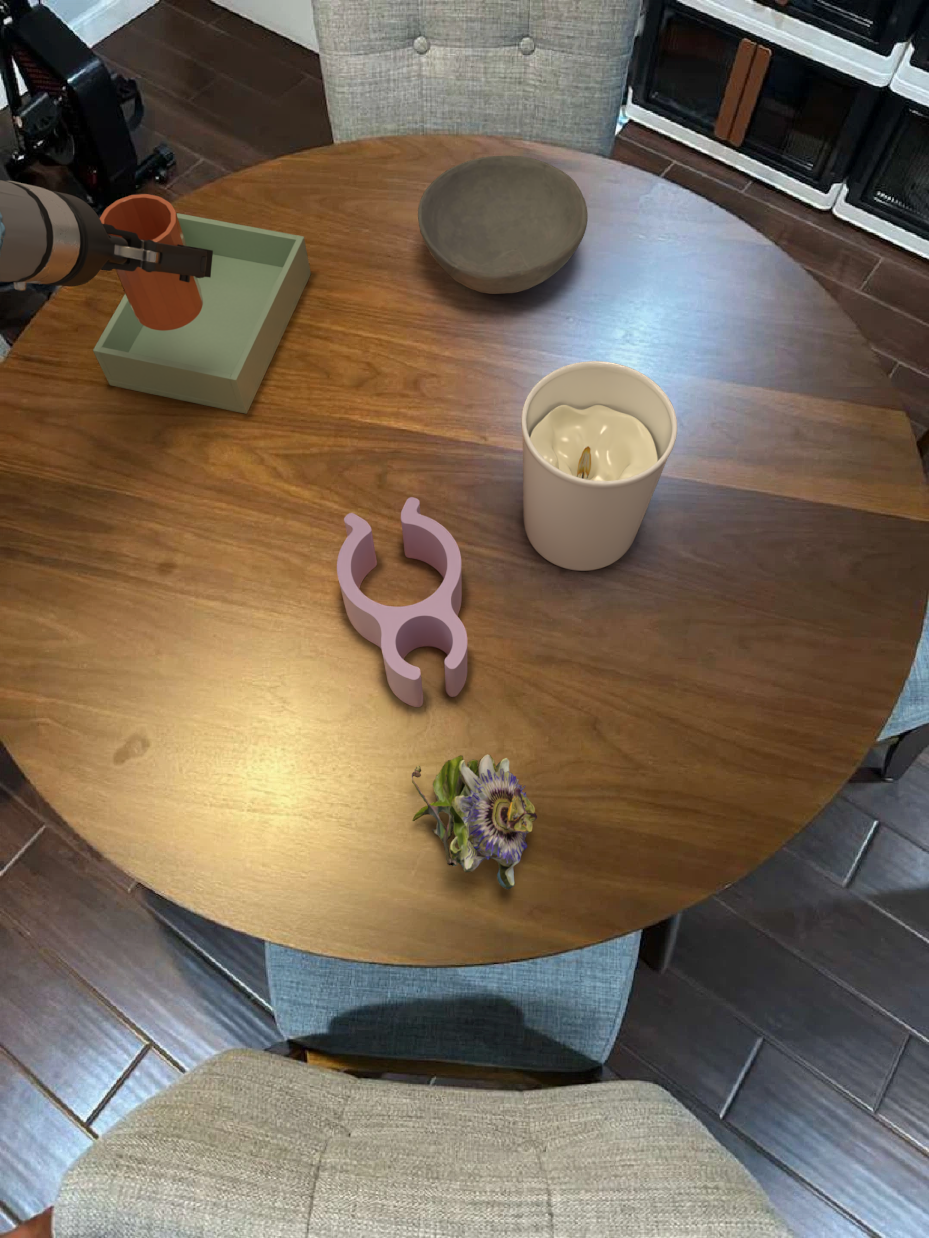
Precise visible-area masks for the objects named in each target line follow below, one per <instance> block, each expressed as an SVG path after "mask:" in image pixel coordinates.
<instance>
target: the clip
mask: <svg viewBox="0 0 929 1238" xmlns="http://www.w3.org/2000/svg"><path fill="white" fill-rule="evenodd" d="M343 522H344V527H345V532H346V536H347V537H346V538H345V540H344V542H343V543H342V545H341V547H340V549H339V552H338V556H337V559H336V560H337V561H336V575H337V579H338V583H339V588H340V591H341V595H342V601H343V604H344V609H345V612H346V615H347V618H348V620H349V622H350V624H351V625H352V627H353V628H354V629H355V630H356V632H357V633H358V634H359V635H360V636H362V638H364V639H366V640H367V641H369V642H370V643H372V644H373V645H375V646H377V647H378V648H379V649H381V653H382V658H383V664H384V670H385V674H386V675H385V677H386V680H387V683H388V686H389V688H390V690H391V692H392V693H393V694H394V695H395V696H396V697H397V699H399V700H400V701H401V702H402V703H405V704H406V705H408V706H410V707H415V708H420V707H422V706H423V704H424V693H423V683H422V682H423V681H422V673H421V669H420V668H419V667H418V666H416V665H414V664H413V665H412V664H410V663H409V662H407V661H406V660H404V659H405V658H406V656H407V655H409V653H411V652H412V651H413V650H416V649H419V648H422V647H431V648H437V649H439V650H441V651H442V652H444V653H445V654H446V655H447V656H446V657H445V659H444V661H443V662H444V663H443V664H444V680H445V681H444V682H445V692H446V694H447V695H448V696H449V697H452V698H455V697H457V696H458V695H459V694H460V692H462V690H463V688H464V686H465V684H466V682H467V677H468V634H467V633H468V632H467V629H466V627H465V625H464V623H463V622H462V620H461V619H460V617H458V615H459V613H460V610H461V607H462V599H463V595H462V593H463V592H462V591H463V590H462V587H463V586H462V585H463V584H462V555H461V552H460V548H459V546H458V543H457V541H456V540H455V538H454V537H453V535H452V534H451V532H449V531H448V529H447V528H446V527H445V526H443V525H442V524H440V523H439V522H438V521H436V520H435V519H433V518H431V517H429V516H427V515H423V514H421V504H420V500H419V499H418V498H416V497H413V496H410V497H407V499H406V501H405V503H404V505H403V507H402V510H401V512H400V523H401V533H402V542H403V550H404V556H405V557H406V558H408V559H414V560H418V561H421V562H424V563H426V564H428V565H429V566H431V567H433V568H434V569H435V570H436V571H437V572H438V573H439V574H440V576H441V577H442V578H443V580H442V582H441V584H440V585H439V586H438V588H437V589H436V590H435V591H434V592H433V593H432V594H431V595H429V596H428V597H427V598H425V599H423V600H420V601H418V602H416V603H413V604H409V605H404V606H403V605H402V606H392V605H386V604H382V603H379V602H377V601H375V600H373V599H371V598H370V597H368V596H366V594H364V593H363V592H362V591H361V589H360V587H361V585H362V583H363V581H364V580H365V578H366V577H367V575H368V574H369V573H370V572H372V570H373V569H375V568H376V567H377V565H378V561H377V555H376V549H375V543H374V536H373V531H372V527H371V525H370V524H369V523H368V521H367V520H366V519H364V518H362V517H360V516H358V515H357V514H356V513H354V512H349V513H347V514H346V515H345V516H344V518H343Z"/></svg>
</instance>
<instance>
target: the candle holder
mask: <svg viewBox="0 0 929 1238" xmlns="http://www.w3.org/2000/svg"><path fill="white" fill-rule="evenodd" d="M521 410H522V411H521V417H520V426H521V427H520V428H521V433H522V509H523V526H524V530H525V533H526V536H527V540H528V541H529V544H530V545H531V546H532V547H533V549H534V550H535V551H536V552H537V553H538V554H539V555H540V556H541V557H542V558H544V559H545V560H546V561H548V562H550V563H551V564H553V565H555V566H557V567H559V568H563V569H565V570H570V571H571V570H572V571H577V572H585V571H586V572H587V571H595V570H599V569H603V568H605V567H608V566H610V565H612V564H614V563H615V562H617V561H618V560H620V559H621V558H622V557H623V556H624V555H625V554H626V553H628V551H629V550H630V548H631V547H632V544H633V543H634V541H635V539H636V536H637V535H638V532H639V530H640V528H641V525H642V523H643V520H644V518H645V516H646V513H647V511H648V507H649V506H650V504H651V501H652V498H653V495H654V493H655V491H656V488H657V486H658V483H659V481H660V478H661V476H662V473H663V471H664V468H665V466H666V463H667V461H668V458H669V457H670V455H671V454H672V451H673V449H674V447H675V444H676V442H677V435H678V420H677V419H678V418H677V414H676V411H675V408H674V406H673V404H672V402H671V400H670V398H669V396H668V395H667V394H666V392H665V391H664V390H663V389H662V388H661V386H660V385H658V383H656V382H655V381H654V380H653V379H652V378H650V377H649V376H647V375H646V374H644V373H642V372H641V371H638V370H636V369H635V368H632V367H629V366H628V365H627V366H626V365H624V364H621V363H616V362H610V361H601V360H600V361H599V360H589V361H579V362H575V363H570V364H567V365H564V366H561V367H559V368H557V369H555V370H553V371H551V372H550V373H548V374H546V375H545V376H543V377H542V378H540V380H539V381H538V382H536V384H535V385H534V386H533V387H532V388H531V389H530V391H529V393H528V395H527V396H526V398H525V400H524V403H523V406H522V409H521Z"/></svg>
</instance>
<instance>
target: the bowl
mask: <svg viewBox="0 0 929 1238" xmlns="http://www.w3.org/2000/svg"><path fill="white" fill-rule="evenodd" d="M588 216H589V214H588V207H587V202H586V200H585V197H584V195H583V193H582V191H581V189H580V187H579V185H577V183H576V181H574V179H573V178H572V177H571V176H570V175H568V174H567V173H566V172H565V171H563V170H561V169H560V168H558V167H556V166H554V165H552V164H549V163H548V162H545V161H542V160H539V159H536V158H532V157H528V156H521V155H490V156H484V157H479V158H475V159H474V158H473V159H471V160H467V161H465V162H461V163H459V164H457V165H453V166H452V167H450V168H449V169H447V170H445V171H443V172H442V173H441V174H440V175H438V176H437V177H436V178H435V179H434V180H433V181H432V182H431V183H430V184H429V185H428V186H427V188H426V189H425V191H424V192H423V194H422V196H421V198H420V200H419V203H418V209H417V221H418V227H419V231H420V234H421V237H422V239H423V242H424V243H425V246H426V247H427V250H428V251H429V253H430V254H431V256H432V258H434V260H435V261H436V262H437V264H439V266H440V268H442V269H443V271H445V273H446V274H448V276H449V277H450V278H451V279H453V280H454V281H455V282H457V283H458V284H461V285H462V286H464V287H466V288H469V289H470V290H473V291H476V292H479V293H484V294H490V295H496V294H499V295H500V294H515V293H519V292H522V291H526V290H529V289H531V288H533V287H536V286H538V285H540V284H541V283H543V282H545V281H547V280H548V279H550V278H551V277H553V276H554V275H555V274H556V273H558V272H559V271H560V270H561V269H562V268H563V267H564V266H565V265H566V264H567V263H568V262H569V260H570V259H571V258H572V257H573V255H574V254H575V252H576V251H577V249H579V246H580V244H581V242H582V240H583V239H584V236H585V233H586V230H587V226H588Z"/></svg>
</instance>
